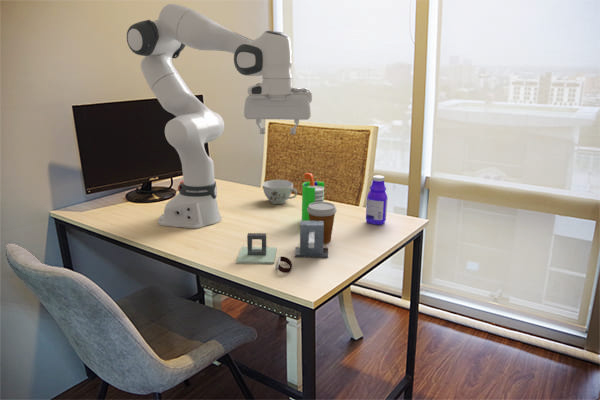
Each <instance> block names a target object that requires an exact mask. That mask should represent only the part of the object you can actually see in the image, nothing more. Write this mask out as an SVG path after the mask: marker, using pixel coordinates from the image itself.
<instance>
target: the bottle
mask: <svg viewBox="0 0 600 400" xmlns="http://www.w3.org/2000/svg"><path fill="white" fill-rule="evenodd" d="M386 190H387V187H386V185H385V176H384V175H381V174H380V175H379V174H377V175H373V176H372V183H371V185H370V186H369V192H368V194H367V195H366V208H365V210H366V211H365V220H366V222H367V223H368V224H371V225H376V226H377V225H379V226H380V225H384V224H385V223H386V220H387V211H388V195H387V193H386Z"/></svg>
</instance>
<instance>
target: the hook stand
mask: <svg viewBox="0 0 600 400" xmlns="http://www.w3.org/2000/svg"><path fill="white" fill-rule="evenodd" d="M299 229H300V230H299V235H300V236H299V246H296V247H295V250H294V251H295V252H294V258H310V259H311V258H312V259H314V258H318V259H319V258H321V259H322V258H323V259H324V258H325V259H329V248H328V247H324V244H323V235H324V221H302V220H300V224H299Z"/></svg>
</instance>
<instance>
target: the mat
mask: <svg viewBox="0 0 600 400" xmlns="http://www.w3.org/2000/svg"><path fill="white" fill-rule="evenodd" d="M252 248H253V249H262V246H252ZM277 248H278V247H276V246H273V247H270V246H269V247H267V254H266V256H259V255H248V246H241V248H240V251H239V254H238V256H237V258H236V262H235V263H236V264H254V265H255V264H257V265H258V264H261V265H264V264H265V265H266V264H267V265H274V263H275V259H276V255H277V251H278V250H277Z"/></svg>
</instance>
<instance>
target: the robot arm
mask: <svg viewBox="0 0 600 400" xmlns="http://www.w3.org/2000/svg"><path fill="white" fill-rule="evenodd" d="M291 41H292V40H291V38H290V37H289V35H288V34H286V33H284V32H281V31H274V30H265V31H264V32H263V33H262V34H261V35H260V36H259V37H257V38H256V39H251V38H248V37H246V36H245V35H244V36H243V35H241V34H239V33H237V32H235V31H233V30H231V29H228V28H227V27H225V26H223V25H221V24H219V23H218V22H216V21H214V20H213V19H211V18H209V17H207V16H206V15H204V14H202V13H200V12H199V11H196V10H194V9H192V8H190V7H187V6H185V5H180V4H176V3H168V4H166V5H165V6H163V7H162V8H161V10H160V12H159V14H158V19H156V20H151V19H146V20H143V21H142V20H141V21H138V22H136V23H133V24H131V25H130V26H129V27H128V29H127V31H126V42H127V45H128V46H127V47H128V48H129V49H130V51H132V53H133V54H136V55H137V56H143V58H142V60H141V62H140V70H141V72H142V74H143V76H144V79H145V81H146V83H147V85H148V87H149V88H150V90H151V91H152V93H153V95H154V96H155V97H156V99H157V101H158V102H159V104H160V105H161V107H162V109H164V110H165V111H167V112H168V113H170V114H172V115H173V116H175V117H174V118H173V119H172V118H171V119H170V120H169V121H168V122H166V124H165V127H164V135H165V139H166V140H167V142H168V144H169V145H171V146H172V147H173V148H174V149H175V151H176V152H177V154H178V155H179V160H180V163H181V169H182V180H181V181H180V182H179V185H178V187H177V191H178V193H177V194H176V195H175V196H174V197H172V198H171V199H170V200H169V201H168V202H167V203H166V204H165V207H164V211H163V214H161V215H160V216H159V217H158V219H157V224H158V225H159V226H164V227H165V226H166V227H176V228H187V229H199V228H202V227H205V226H210V225H214V224H216V223H218V222H220V221H221V220H222V217H221V213H220V210H219V207H218V202H217V196H218V189H217V188H218V187H217V182H216V181H215V179H216V178H215V164H214V163H215V162H214V160H213V159H212V157H210V156H209V155H208V153H207V152H206V149H205V144H207V143H210V142H213V141H215V140H216V139H218V138H219V137H221V136H222V135H223V134H224V131H225V121H224V119H223V117H222V116H221V115H220V114H219V113H217V112H215V111H213V110H211V109H210V108H208V107H207V106H206V105H205V104H204V103H203V102H202V101H200V100H199V98H197V96H195V95H194V93H193V92H192V91H191V89H190V88H189V87H188V85H187V83H185V81H184V80H183V78H182V76H181V75H180V74H179V72H178V70H177V69H176V67H175V65H174V64H173V59H178V57H179V56H180V54H181V52H182V51H183V50H184V48H185V47H188V48H192V49H195V50H198V51H217V52H218V51H220V52H227V53H231V54H233V65H234V68H235V69H236V71H237V72H238V73H239V74H240V75H243V76H247V77H259V76H260V77H261V76H262V82H259V83H255V84H254V85H250V86H248V88H247V94H248V95H247V96H246V98H245V101H244V108H243V109H244V110H243V116H244V118H245V119H246V120H255V124H256V125H257V127H258V129H259V134H260V135H265V134H266V127H263V125H262V124H261V123H262V120H289V121H290V120H294V121H293V122H294V126H293V127H291V128H290V135H296V130H297V127H298V125H299V124H300V120H301V121H302V120H304V121H305V120H307V121H308V120H309V119H311V116H312V115H311V114H312V113H311V105H310V104H311V102H312V100H313V95H312V94H313V93H312V91H310V90H309V89H308V88H299V87H297V88H296V87H295V88H293V76H292V70H291V69H292V63H293V53H292V42H291Z"/></svg>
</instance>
